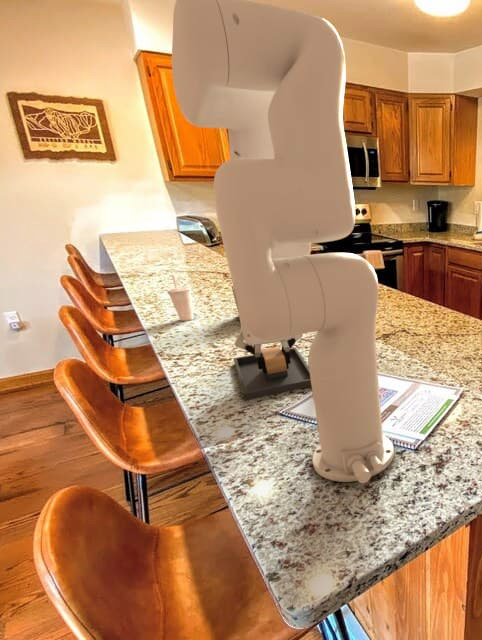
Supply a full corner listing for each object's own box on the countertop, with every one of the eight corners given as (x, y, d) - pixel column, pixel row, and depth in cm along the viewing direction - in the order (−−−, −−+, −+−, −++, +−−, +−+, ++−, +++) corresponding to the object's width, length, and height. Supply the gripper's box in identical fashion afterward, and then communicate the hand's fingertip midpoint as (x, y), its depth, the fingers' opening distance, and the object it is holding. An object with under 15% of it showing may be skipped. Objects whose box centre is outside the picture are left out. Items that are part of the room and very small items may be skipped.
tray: (317, 387, 91) (316, 378, 90) (245, 403, 84) (243, 394, 83) (297, 355, 108) (295, 347, 107) (235, 366, 101) (233, 358, 100)
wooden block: (288, 375, 95) (284, 356, 93) (268, 379, 93) (265, 360, 91) (282, 364, 100) (279, 346, 98) (264, 367, 98) (260, 349, 97)
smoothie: (178, 317, 138) (166, 273, 132) (200, 315, 139) (189, 272, 134) (172, 322, 132) (160, 277, 126) (196, 321, 134) (184, 276, 128)
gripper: (216, 297, 82) (236, 383, 90) (305, 287, 90) (316, 367, 97) (214, 289, 88) (233, 370, 96) (297, 281, 95) (309, 356, 103)
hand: (275, 368), depth 96 cm, fingers closed on wooden block, 4 cm apart
